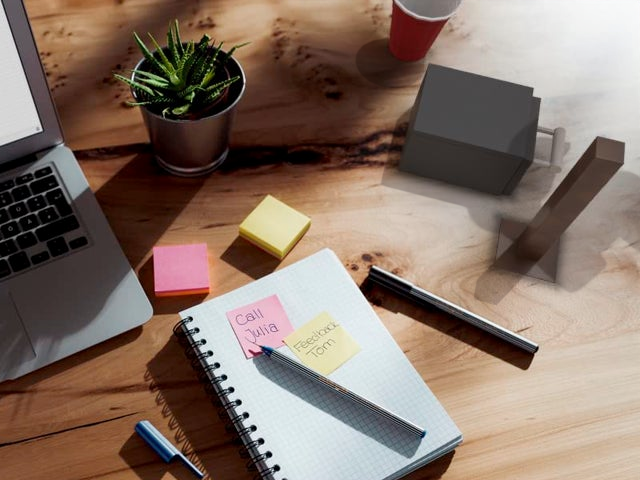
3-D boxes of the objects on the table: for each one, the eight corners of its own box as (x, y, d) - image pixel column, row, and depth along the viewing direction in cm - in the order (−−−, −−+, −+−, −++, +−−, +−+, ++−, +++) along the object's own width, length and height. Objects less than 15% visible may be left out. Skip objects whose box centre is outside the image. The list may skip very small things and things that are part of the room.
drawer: (550, 143, 97) (576, 106, 90) (543, 204, 92) (570, 170, 85) (428, 113, 99) (444, 74, 92) (415, 172, 94) (431, 135, 87)
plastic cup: (394, 86, 103) (415, 23, 92) (361, 40, 107) (377, -26, 96) (453, 67, 105) (481, 3, 94) (418, 22, 109) (440, -44, 98)
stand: (556, 237, 91) (649, 130, 71) (551, 286, 88) (648, 188, 68) (498, 222, 92) (575, 112, 72) (491, 270, 88) (569, 168, 69)
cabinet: (506, 134, 99) (534, 87, 90) (496, 200, 94) (524, 157, 85) (411, 110, 101) (429, 62, 92) (395, 174, 95) (413, 129, 86)
